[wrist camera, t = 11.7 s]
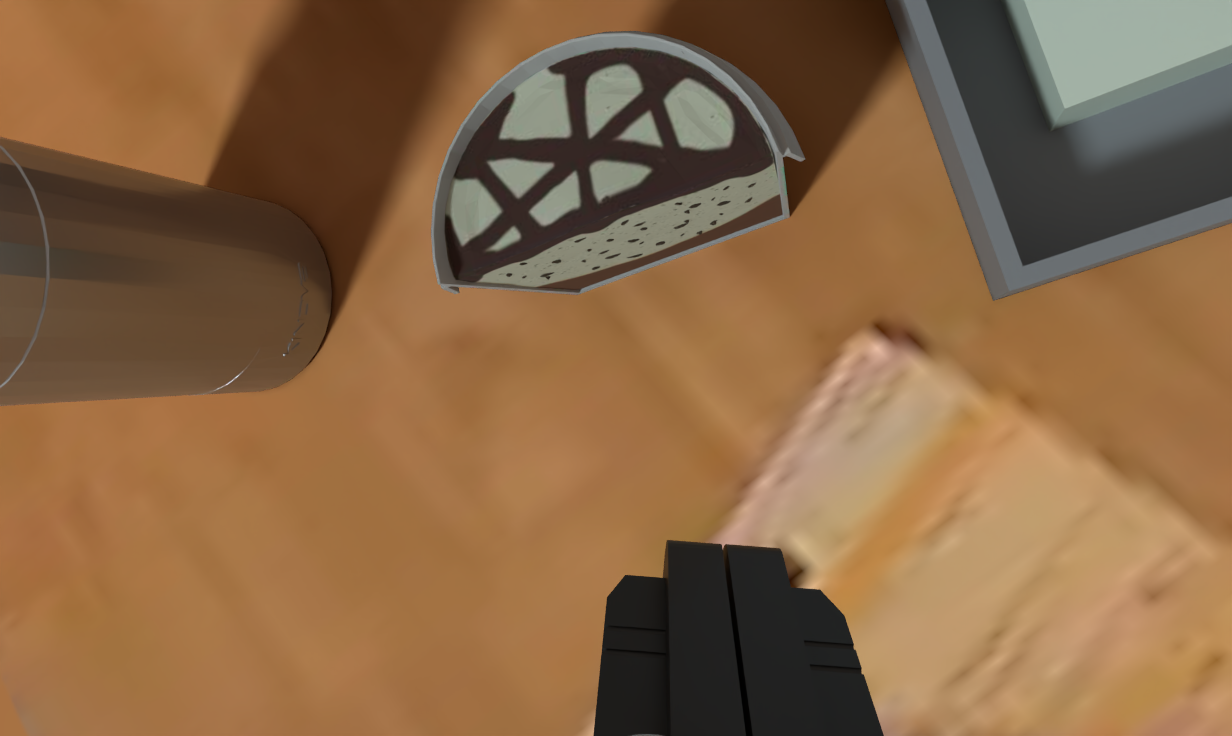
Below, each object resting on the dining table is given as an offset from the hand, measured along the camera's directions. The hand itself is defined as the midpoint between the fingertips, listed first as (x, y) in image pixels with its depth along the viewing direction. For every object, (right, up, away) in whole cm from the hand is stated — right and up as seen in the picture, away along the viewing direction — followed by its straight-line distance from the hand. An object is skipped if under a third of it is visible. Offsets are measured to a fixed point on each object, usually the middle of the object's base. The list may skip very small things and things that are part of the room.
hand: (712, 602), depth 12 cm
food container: (0, +11, +24) cm, 26 cm away
